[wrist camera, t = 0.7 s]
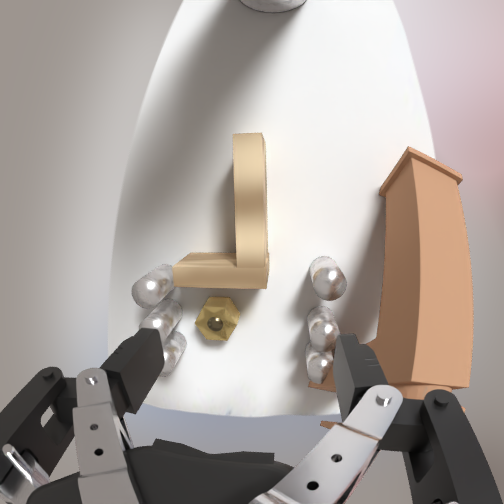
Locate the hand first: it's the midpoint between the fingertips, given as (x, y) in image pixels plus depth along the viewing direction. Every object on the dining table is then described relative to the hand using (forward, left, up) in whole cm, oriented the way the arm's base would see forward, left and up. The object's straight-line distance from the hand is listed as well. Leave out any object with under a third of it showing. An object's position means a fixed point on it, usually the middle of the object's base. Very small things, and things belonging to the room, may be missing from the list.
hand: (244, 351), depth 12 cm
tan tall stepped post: (+5, +13, -21) cm, 25 cm away
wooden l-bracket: (-5, -4, -20) cm, 21 cm away
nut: (+8, -6, -20) cm, 22 cm away
